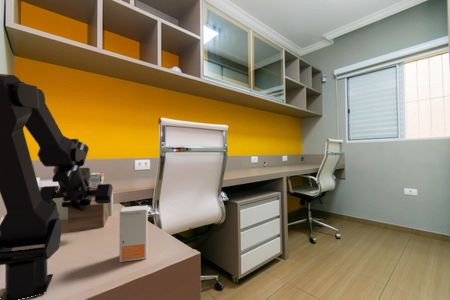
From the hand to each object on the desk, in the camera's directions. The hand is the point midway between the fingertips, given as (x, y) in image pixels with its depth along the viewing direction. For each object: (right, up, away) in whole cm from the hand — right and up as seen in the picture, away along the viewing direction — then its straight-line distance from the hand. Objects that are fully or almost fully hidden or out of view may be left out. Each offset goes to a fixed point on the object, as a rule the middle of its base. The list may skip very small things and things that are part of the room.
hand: (82, 209), depth 70 cm
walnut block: (-2, -7, +7) cm, 10 cm away
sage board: (-9, -7, +14) cm, 18 cm away
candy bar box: (-9, -7, +22) cm, 25 cm away
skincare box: (+25, -7, -18) cm, 31 cm away
